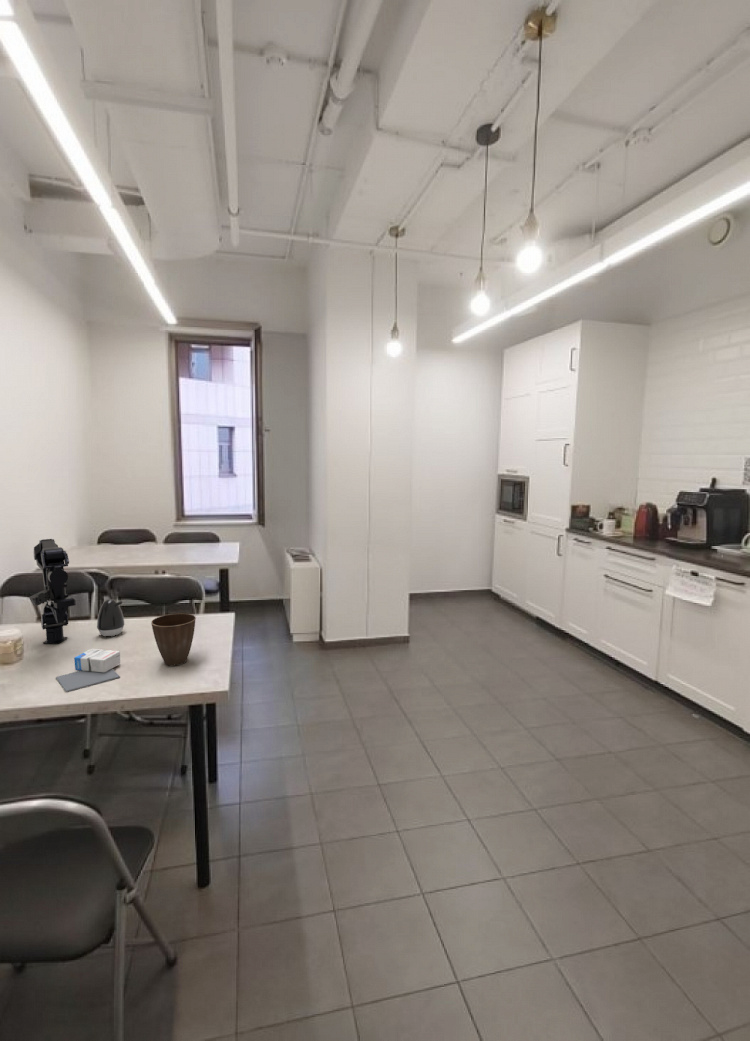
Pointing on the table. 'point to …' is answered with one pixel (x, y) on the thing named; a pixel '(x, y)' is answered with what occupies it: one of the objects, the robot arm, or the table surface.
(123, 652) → the table surface
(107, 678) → the mat
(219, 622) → the table surface
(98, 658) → the ink box
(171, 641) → the plant pot
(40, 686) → the table surface
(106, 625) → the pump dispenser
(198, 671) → the table surface
